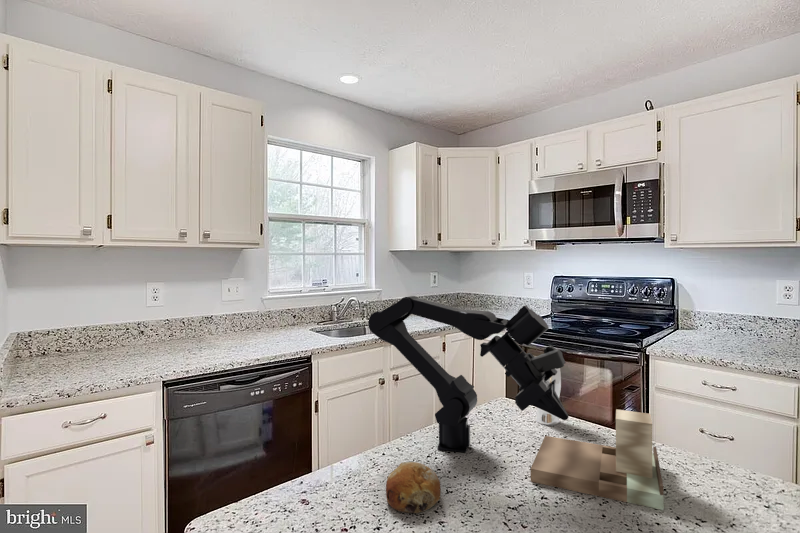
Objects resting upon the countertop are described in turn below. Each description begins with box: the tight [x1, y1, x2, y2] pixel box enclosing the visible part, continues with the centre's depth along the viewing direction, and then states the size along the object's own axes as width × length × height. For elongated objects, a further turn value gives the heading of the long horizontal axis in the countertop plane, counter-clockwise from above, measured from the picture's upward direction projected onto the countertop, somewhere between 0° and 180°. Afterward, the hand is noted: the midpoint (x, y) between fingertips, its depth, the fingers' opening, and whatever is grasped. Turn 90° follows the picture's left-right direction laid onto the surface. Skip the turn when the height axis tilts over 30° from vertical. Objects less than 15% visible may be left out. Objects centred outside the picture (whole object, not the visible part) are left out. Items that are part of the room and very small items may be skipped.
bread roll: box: [385, 461, 441, 514], centre depth 78 cm, size 10×10×8 cm
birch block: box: [615, 408, 653, 478], centre depth 84 cm, size 6×6×10 cm
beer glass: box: [534, 368, 562, 426], centre depth 116 cm, size 7×7×15 cm
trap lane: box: [530, 435, 665, 511], centre depth 87 cm, size 22×18×4 cm
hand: (566, 418), depth 89 cm, fingers closed
